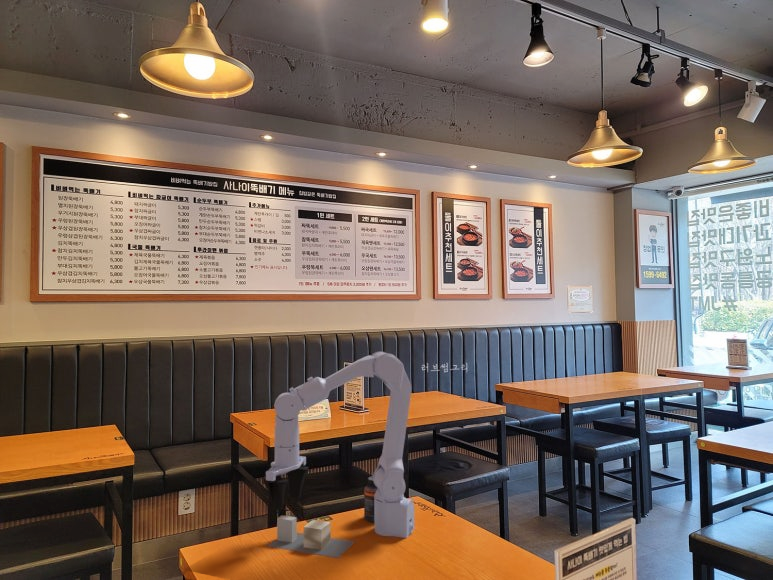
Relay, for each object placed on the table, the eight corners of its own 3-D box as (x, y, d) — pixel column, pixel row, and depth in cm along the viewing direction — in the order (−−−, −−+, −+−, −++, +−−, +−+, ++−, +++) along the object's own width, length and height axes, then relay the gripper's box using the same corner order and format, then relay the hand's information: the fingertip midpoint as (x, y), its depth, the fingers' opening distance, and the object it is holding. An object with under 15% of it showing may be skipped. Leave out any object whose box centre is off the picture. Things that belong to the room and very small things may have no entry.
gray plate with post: (355, 545, 121) (355, 519, 122) (338, 562, 113) (337, 534, 113) (287, 535, 128) (287, 510, 128) (266, 550, 119) (266, 523, 120)
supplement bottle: (384, 527, 132) (384, 482, 133) (361, 526, 133) (361, 480, 134) (389, 519, 138) (388, 475, 139) (367, 517, 139) (367, 474, 140)
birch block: (330, 542, 121) (330, 522, 122) (321, 550, 117) (321, 529, 117) (313, 539, 123) (313, 519, 123) (303, 547, 119) (303, 526, 119)
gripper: (288, 437, 132) (288, 492, 131) (254, 450, 119) (254, 512, 118) (313, 439, 130) (313, 495, 129) (281, 453, 116) (281, 515, 115)
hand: (286, 503), depth 123 cm, fingers open, 7 cm apart
